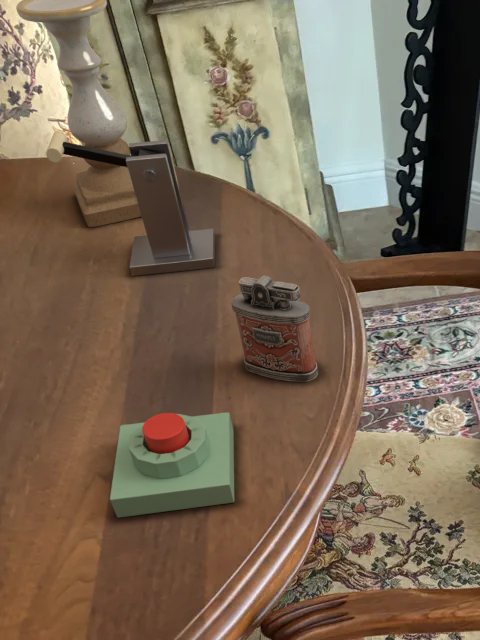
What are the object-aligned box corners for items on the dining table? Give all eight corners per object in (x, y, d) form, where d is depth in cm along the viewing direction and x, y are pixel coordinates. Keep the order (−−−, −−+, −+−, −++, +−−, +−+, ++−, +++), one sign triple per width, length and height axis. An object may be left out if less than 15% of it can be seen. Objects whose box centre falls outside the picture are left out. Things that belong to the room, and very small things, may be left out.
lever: (46, 165, 86) (45, 142, 84) (53, 147, 89) (52, 125, 88) (162, 188, 90) (163, 166, 88) (164, 170, 93) (165, 149, 91)
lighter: (239, 371, 81) (219, 282, 74) (254, 353, 83) (236, 265, 76) (309, 385, 79) (296, 296, 72) (323, 366, 81) (311, 277, 74)
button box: (117, 518, 67) (102, 484, 64) (126, 443, 74) (114, 409, 71) (234, 502, 68) (225, 468, 65) (233, 430, 75) (225, 396, 72)
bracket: (132, 276, 95) (98, 168, 86) (136, 245, 100) (105, 140, 91) (214, 267, 96) (190, 159, 86) (215, 237, 101) (192, 132, 92)
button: (146, 457, 67) (140, 441, 66) (148, 430, 69) (143, 415, 68) (188, 452, 67) (183, 436, 66) (189, 425, 70) (185, 410, 68)
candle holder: (88, 228, 104) (16, 19, 86) (76, 196, 111) (7, -4, 93) (169, 210, 107) (116, 4, 89) (152, 180, 114) (100, -17, 96)
